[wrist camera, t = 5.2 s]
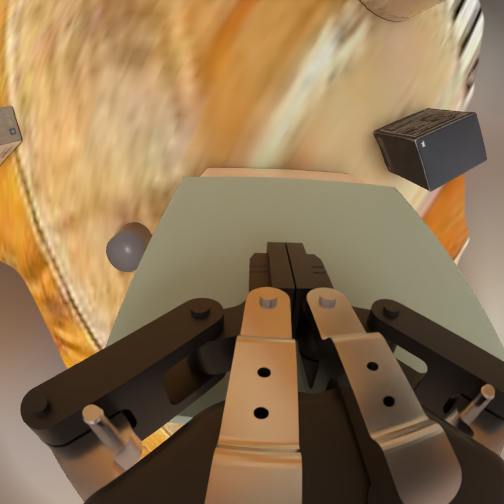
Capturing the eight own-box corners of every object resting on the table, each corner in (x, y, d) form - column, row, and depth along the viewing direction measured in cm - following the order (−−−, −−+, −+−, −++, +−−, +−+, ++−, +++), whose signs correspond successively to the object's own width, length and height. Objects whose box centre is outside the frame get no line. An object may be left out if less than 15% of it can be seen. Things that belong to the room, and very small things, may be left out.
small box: (389, 175, 34) (430, 196, 25) (371, 131, 31) (412, 138, 22) (442, 148, 32) (489, 162, 22) (428, 106, 29) (476, 109, 20)
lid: (184, 187, 22) (183, 176, 22) (392, 197, 22) (395, 187, 22) (100, 408, 8) (89, 397, 8) (500, 379, 8) (512, 368, 8)
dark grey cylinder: (118, 222, 37) (103, 236, 33) (150, 222, 37) (137, 236, 33) (123, 254, 40) (110, 271, 35) (154, 255, 40) (143, 272, 35)
